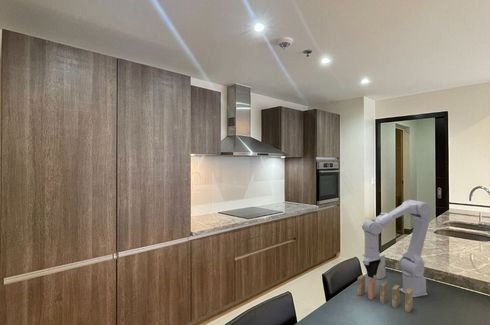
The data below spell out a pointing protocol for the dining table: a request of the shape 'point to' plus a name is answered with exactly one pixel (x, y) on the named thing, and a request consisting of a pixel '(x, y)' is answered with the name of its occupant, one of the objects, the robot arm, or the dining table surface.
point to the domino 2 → (371, 288)
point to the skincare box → (381, 268)
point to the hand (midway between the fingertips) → (372, 275)
